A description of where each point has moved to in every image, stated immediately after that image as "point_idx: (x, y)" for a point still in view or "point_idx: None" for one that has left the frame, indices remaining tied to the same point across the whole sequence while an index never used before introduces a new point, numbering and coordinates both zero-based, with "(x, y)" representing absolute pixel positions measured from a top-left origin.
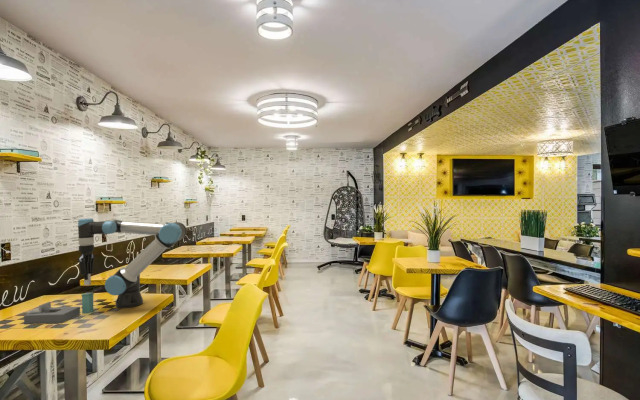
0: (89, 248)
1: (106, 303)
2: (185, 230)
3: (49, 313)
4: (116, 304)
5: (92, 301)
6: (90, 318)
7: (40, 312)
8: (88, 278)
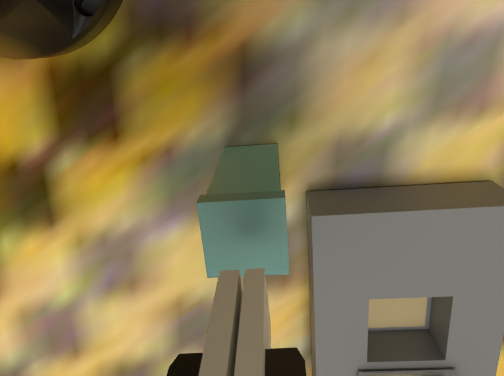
0: None
1: (23, 179)
2: None
3: (473, 314)
4: (105, 10)
5: (227, 172)
6: (405, 47)
7: (455, 374)
8: (264, 353)
